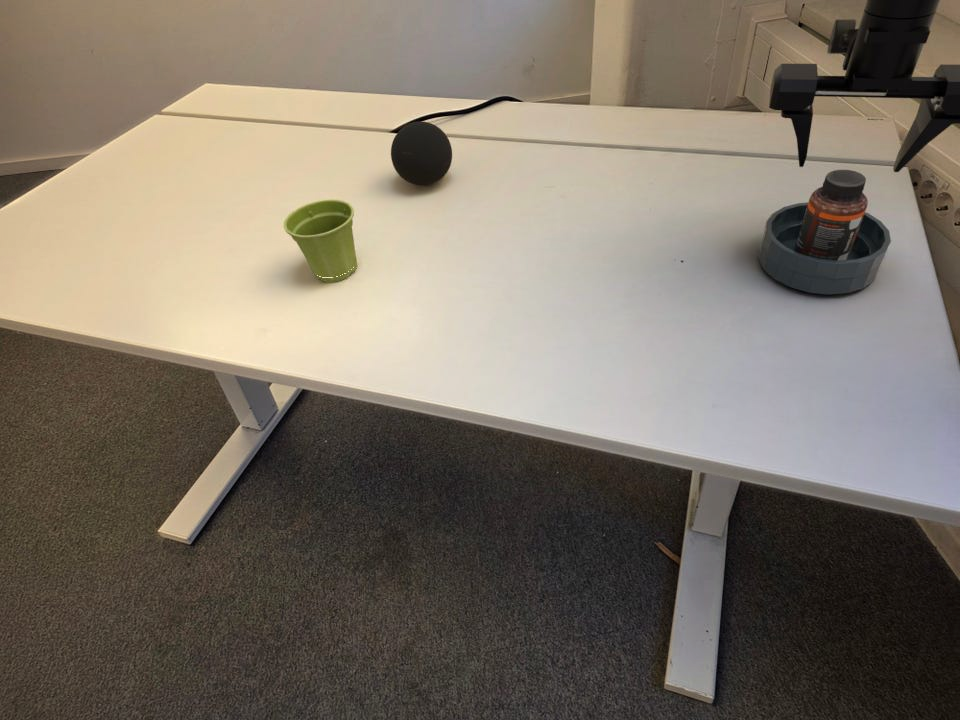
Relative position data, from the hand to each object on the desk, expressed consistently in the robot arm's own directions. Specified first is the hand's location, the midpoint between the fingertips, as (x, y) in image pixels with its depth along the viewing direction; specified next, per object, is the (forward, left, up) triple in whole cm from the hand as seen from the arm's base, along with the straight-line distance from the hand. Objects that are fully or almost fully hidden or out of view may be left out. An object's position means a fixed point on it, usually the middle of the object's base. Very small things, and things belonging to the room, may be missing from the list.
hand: (847, 167), depth 66 cm
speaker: (+59, -13, -13) cm, 62 cm away
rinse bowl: (0, 0, -13) cm, 13 cm away
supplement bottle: (0, 0, -13) cm, 13 cm away
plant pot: (+62, +13, -13) cm, 65 cm away
